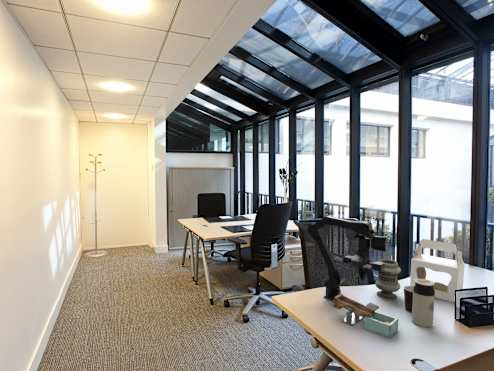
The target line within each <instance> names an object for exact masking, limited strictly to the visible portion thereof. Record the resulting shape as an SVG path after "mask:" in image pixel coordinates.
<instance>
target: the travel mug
mask: <svg viewBox="0 0 494 371" xmlns="http://www.w3.org/2000/svg"><path fill="white" fill-rule="evenodd" d="M414 281H415V286H414V287H413V304H412V313H411V322H412V323H413V324H414V325H417V326H419V327H424V328H429V327H430V328H431V327H433V325H434V311H435V297H434V296H435V290H434V288H433V286H434V281H431V280H428V279H415V280H414Z"/></svg>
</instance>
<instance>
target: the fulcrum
mask: <svg viewBox="0 0 494 371" xmlns="http://www.w3.org/2000/svg"><path fill="white" fill-rule="evenodd" d="M357 302H358V301H357ZM358 303H360V302H358ZM345 314H346V316H345V318H343V319H342V320H341V323H343V324H346V325H348V326H352V327H354V326H355V325H356V324H358V323H359V322H360V321H362V320H364V318H363V317H361V316H359V315H357V314H355V313H352V308H350V307H347V310H346V313H345Z"/></svg>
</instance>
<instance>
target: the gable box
mask: <svg viewBox="0 0 494 371" xmlns="http://www.w3.org/2000/svg"><path fill="white" fill-rule="evenodd" d="M457 247H458V246H457V244H455V243H451V242H445V241H440V240H439V241H437V240H431V239H424V238H423V239H421V241H420V243H416V245H415V251H414V254H413V255H412V257H411V261H410V262H411V263H410V280H409V286H415V281H414V280H415V279H426V278H427V277H426V276H427V271H426V269H427V270H431V271H434V272H438V273H445V274H448V275H450V277H451V279H450V280H449V282H448V284H444V283H441V282H437V281H436V282H434V281H433V282H434V286H433V288H434V290H435V296H434V298H437V299H440V300H443V301H447V302H451V303H455V302H454V291H455V290H458V289H463V290H464V279H465V278H464V276H465V262H464V260H463V251H462V250H458V248H457ZM422 249H431V250H436V251H441V252H447V253H452V254H454V255H455V257H454V258H455V259H450V258H445V257H444V258H443V257H439V256H435V255H434V256H433V255H429V254H424V253H423V250H422ZM426 280H427V279H426Z"/></svg>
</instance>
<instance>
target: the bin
mask: <svg viewBox="0 0 494 371" xmlns="http://www.w3.org/2000/svg"><path fill="white" fill-rule="evenodd" d="M384 322H389V323H390V324H387V323H384ZM364 330H366V331H369V332H372V333H375V334H377V335H379V336H382V337H385V338H388V339H391V338H392V337H393V336H394V335H396V333H397V332H398V330H399V318H397V317H394V316H391V315H388V314H386V313H382V312H379V311H377V310H376V311H375V315H374V316H373V317H372V318H369V317H365V318H364Z"/></svg>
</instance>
